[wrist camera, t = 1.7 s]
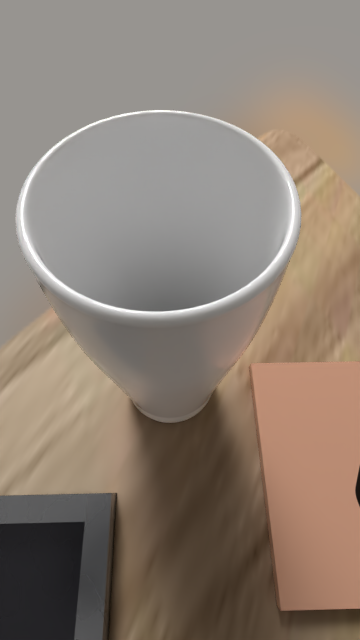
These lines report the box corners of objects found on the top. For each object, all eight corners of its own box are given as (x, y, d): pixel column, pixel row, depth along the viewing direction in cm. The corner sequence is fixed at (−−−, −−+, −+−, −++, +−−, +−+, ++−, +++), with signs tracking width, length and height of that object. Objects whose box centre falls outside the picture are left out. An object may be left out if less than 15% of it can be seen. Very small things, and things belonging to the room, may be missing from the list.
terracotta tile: (483, 600, 16) (495, 604, 16) (277, 606, 16) (281, 610, 16) (404, 364, 22) (410, 360, 21) (248, 367, 22) (251, 363, 21)
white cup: (207, 322, 23) (249, 90, 10) (239, 421, 20) (362, 285, 7) (108, 344, 22) (5, 125, 9) (126, 450, 19) (12, 363, 6)
